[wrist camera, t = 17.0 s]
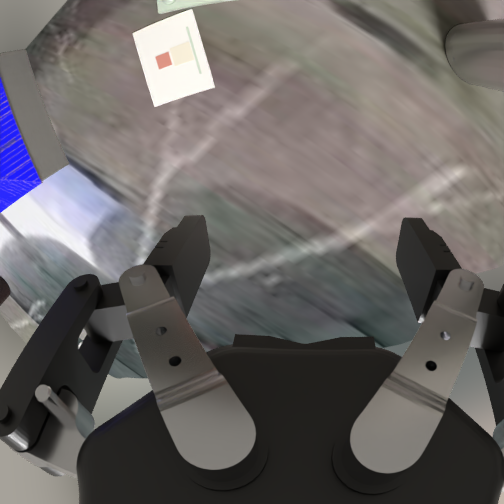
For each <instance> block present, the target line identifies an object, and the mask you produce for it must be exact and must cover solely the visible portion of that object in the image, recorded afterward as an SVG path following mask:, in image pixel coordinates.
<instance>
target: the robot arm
mask: <svg viewBox="0 0 504 504" xmlns="http://www.w3.org/2000/svg"><path fill="white" fill-rule="evenodd" d="M445 49H446V55H447V58H448V61H449V63H450V65H451V67H452V69H453V70H454V72H455V73H456V74H457V75H458V76H459V77H460V78H461V79H462V80H464V81H465V82H467V83H469V84H472V85H476V86H481V87H485V88H489V89H494V90H498V91H502V92H504V19H497V20H487V21H479V22H472V23H466V24H460V25H457V26H455V27H453V28H452V29H451V30H450V31H449V33H448V35H447V38H446V43H445ZM209 262H210V245H209V239H208V233H207V227H206V221H205V217H204V216H203V215H192V216H184V218H183V219H182V221H181V222H180V224H179V225H178V227H173V228H172V229H170V230H169V231H168V232H166V233H165V234H164V235H163V236H162V238H161V239H160V241H159V242H158V243H157V245H156V246H155V248H154V249H153V251H152V252H151V254H150V255H149V256H148V258H147V259H146V261H145V262H144V264H143V265H137V266H134V267H132V268H130V269H128V270H126V271H125V272H124V273H123V274H122V275H121V276H120V278H119V282H117V283H111V284H105V285H101V284H100V282H99V279H98V277H97V276H95V275H93V274H86V275H82V276H79V277H77V278H75V279H73V280H72V281H71V282H70V283H69V284H68V285H67V286H66V288H65V289H64V290H63V292H62V293H61V294H60V296H59V297H58V299H57V300H56V301H55V303H54V304H53V306H52V307H51V309H50V310H49V311H48V313H47V314H46V316H45V317H44V319H43V320H42V322H41V323H40V325H39V326H38V328H37V329H36V331H35V332H34V334H33V335H32V337H31V338H30V340H29V342H28V343H27V345H26V346H25V348H24V350H23V351H22V353H21V354H20V356H19V358H18V359H17V361H16V363H15V364H14V366H13V368H12V369H11V371H10V373H9V375H8V377H7V378H6V380H5V382H4V384H3V385H2V387H1V389H0V439H1V440H2V441H3V442H5V443H6V444H7V445H8V446H9V447H10V448H11V449H12V450H13V451H15V452H16V453H17V454H19V455H20V456H22V457H23V458H24V459H26V460H27V461H29V462H30V463H32V464H33V465H35V466H37V467H40V468H41V469H43V470H44V471H46V472H47V473H49V474H51V475H53V476H62V475H65V474H66V475H68V476H71V477H73V478H75V479H78V485H79V504H498V500H499V497H500V494H501V492H504V284H503V286H502V289H501V291H500V292H499V291H494V290H490V289H486V288H484V284H483V282H482V280H481V279H480V278H479V277H478V276H477V275H476V274H475V273H473V272H471V271H469V270H465V269H462V268H461V267H460V265H459V263H458V262H457V260H456V259H455V257H454V255H453V254H452V252H450V249H449V248H448V246H446V243H445V242H444V240H443V239H442V237H441V236H439V235H438V234H437V233H435V232H434V231H433V230H429V228H428V227H427V225H426V224H425V222H424V221H423V219H422V218H404V219H403V221H402V225H401V230H400V236H399V241H398V246H397V252H396V263H397V267H398V269H399V272H400V274H401V277H402V280H403V282H404V285H405V287H406V290H407V293H408V296H409V298H410V301H411V304H412V307H413V310H414V313H415V315H416V318H417V321H418V323H422V324H421V326H420V328H419V330H418V331H417V333H416V335H415V337H414V338H413V340H412V342H411V343H410V345H409V347H408V348H407V350H406V352H405V353H404V355H403V356H402V357H401V356H399V355H397V354H395V353H393V352H391V351H388V350H385V349H382V348H378V347H375V342H374V337H339V338H335V339H330V340H325V341H320V342H315V343H309V344H301V343H297V342H292V341H288V340H284V339H280V338H275V337H271V336H257V335H239V334H235V338H234V342H233V344H232V345H227V346H222V347H219V348H216V349H213V350H211V351H209V352H206V351H205V350H204V348H203V346H202V345H201V343H200V341H199V340H198V338H197V336H196V335H195V333H194V331H193V329H192V328H191V326H190V324H189V323H188V321H187V319H186V318H187V316H188V313H189V311H190V308H191V306H192V303H193V301H194V298H195V296H196V294H197V291H198V289H199V286H200V284H201V281H202V279H203V277H204V274H205V272H206V269H207V267H208V265H209ZM83 329H85V331H86V333H87V335H86V337H85V339H84V340H83V342H82V344H81V346H80V348H79V349H78V338H79V336H80V334H81V332H82V330H83ZM127 339H134V340H135V343H136V346H137V349H138V352H139V355H140V358H141V360H142V363H143V366H144V368H145V371H146V374H147V376H148V379H149V382H150V384H151V387H152V389H153V390H152V391H151V392H149V393H148V394H146V395H145V396H143V397H142V398H141V399H139V400H138V401H136V402H135V403H133V404H132V405H130V406H129V407H127V408H126V409H125V410H123V411H122V412H120V413H119V414H117V415H116V416H114V417H113V418H111V419H110V420H108V421H107V422H105V423H104V424H102V425H101V426H99V427H98V428H97V429H95V430H94V425H95V423H94V418H93V416H92V415H91V414H92V411H93V409H94V406H95V404H96V401H97V399H98V396H99V394H100V392H101V389H102V387H103V384H104V382H105V380H106V377H107V375H108V373H109V370H110V368H111V366H112V363H113V361H114V359H115V357H116V354H117V352H118V350H119V348H120V345H121V343H122V341H123V340H127ZM469 346H471V347H475V349H476V353H477V356H478V358H479V362H480V365H481V368H482V372H483V374H484V378H485V381H486V385H487V389H488V393H489V396H490V401H491V405H492V409H493V413H494V418H495V422H496V428H495V429H494V432H493V438H492V437H491V436H490V435H489V434H488V433H487V432H486V431H485V430H484V429H483V428H482V427H481V426H479V425H478V424H477V423H476V422H475V421H474V420H473V419H472V418H471V417H470V416H468V415H467V414H466V413H465V412H464V411H463V410H462V409H461V408H460V407H458V406H457V405H456V404H455V403H454V402H453V401H452V400H451V399H450V398H449V396H450V394H451V391H452V389H453V387H454V384H455V382H456V380H457V377H458V375H459V372H460V370H461V367H462V365H463V362H464V360H465V357H466V354H467V351H468V349H469Z"/></svg>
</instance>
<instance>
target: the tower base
mask: <svg viewBox="0 0 504 504" xmlns="http://www.w3.org/2000/svg"><path fill="white" fill-rule="evenodd" d="M226 1H234V0H157V5H158V13H160V14H163V13H167V12H171V11H175V10H180V9H185V8H190V7H195V6H200V5H206V4H212V3H219V2H226Z"/></svg>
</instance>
